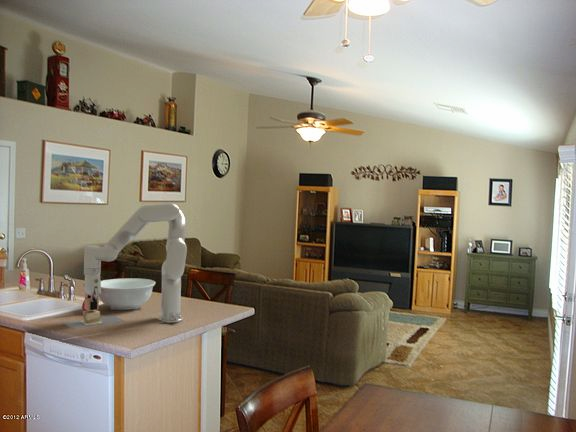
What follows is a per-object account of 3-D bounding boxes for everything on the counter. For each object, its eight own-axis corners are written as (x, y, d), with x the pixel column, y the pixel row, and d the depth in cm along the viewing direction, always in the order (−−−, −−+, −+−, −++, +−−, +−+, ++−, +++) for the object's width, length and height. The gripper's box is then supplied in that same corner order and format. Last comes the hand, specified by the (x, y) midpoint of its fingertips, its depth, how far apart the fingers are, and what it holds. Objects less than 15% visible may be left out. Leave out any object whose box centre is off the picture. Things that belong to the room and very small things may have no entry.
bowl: (80, 311, 259) (81, 284, 258) (118, 300, 290) (119, 276, 289) (132, 317, 249) (133, 289, 249) (166, 305, 280) (166, 280, 280)
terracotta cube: (98, 309, 234) (98, 299, 234) (88, 310, 230) (88, 300, 230) (94, 307, 237) (94, 297, 237) (84, 308, 234) (84, 298, 234)
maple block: (99, 322, 234) (100, 311, 234) (87, 324, 230) (87, 313, 230) (95, 319, 238) (95, 309, 238) (82, 321, 234) (83, 311, 234)
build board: (125, 323, 238) (125, 320, 238) (72, 330, 222) (72, 328, 222) (113, 317, 249) (113, 315, 249) (62, 324, 232) (62, 322, 232)
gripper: (106, 273, 230) (106, 311, 230) (93, 268, 242) (92, 304, 243) (90, 274, 225) (90, 313, 225) (78, 269, 237) (77, 306, 238)
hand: (91, 308), depth 234 cm, fingers closed on terracotta cube, 4 cm apart
